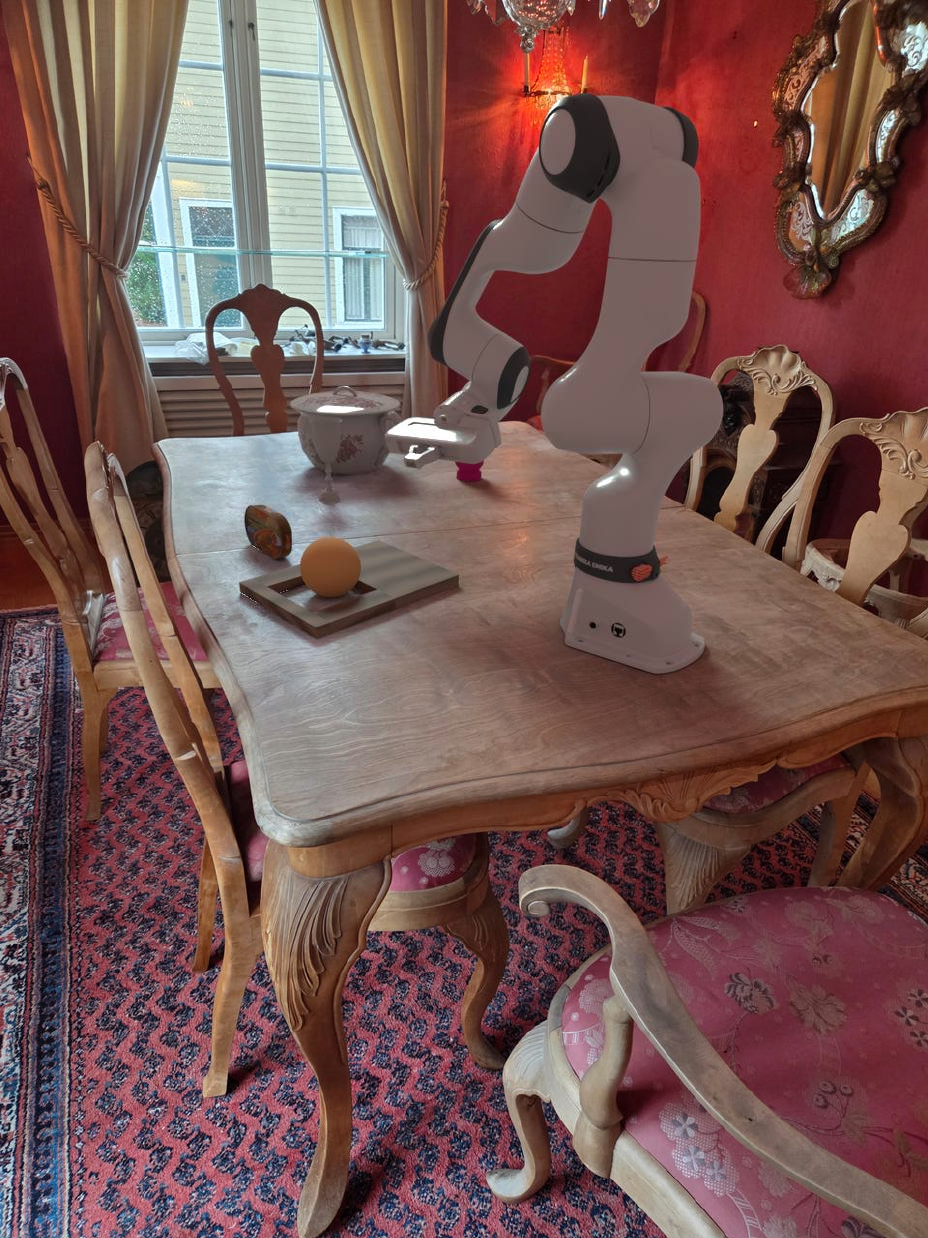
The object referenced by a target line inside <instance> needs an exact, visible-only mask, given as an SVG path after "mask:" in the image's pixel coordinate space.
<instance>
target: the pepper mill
mask: <svg viewBox="0 0 928 1238" xmlns="http://www.w3.org/2000/svg"><path fill="white" fill-rule="evenodd" d="M454 463H455V465H456V467H457V468H458V469H457V470H456V479H457V480H458V481H462V482H476V481H480V480H481V479H482V473H483V472H482V470H481V468H482V467H483V466H484V463H485V459H484V460H483V461H482V462H479V463H476V464H469V463H462V462H454Z"/></svg>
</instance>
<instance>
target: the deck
mask: <svg viewBox="0 0 928 1238" xmlns="http://www.w3.org/2000/svg"><path fill="white" fill-rule="evenodd" d="M353 548H354V549H355V550H356V552H357V553H358V555H359V558H360V562H361V573H360V577H359V579H358V581H357V583H356V585H355V586H354V587H353V588H352V589H355V590H357V591H358V592H360V593H363V594H362V595H361V594H360V595H359V596H356V597H352V598H350V599H347V600H345V601H342V602H338V603H336V604H333V605H330V606H328V607H325V608H322V609H319V610H316V611H314V612H312V611H310V610H308V609H307V608H305V607H303V606H301V605H300V604H299V603H296V602H294V601H293V600H291V599H289V598H288V597H285V596H284V595H282V593H280V592H283V591H286V590H289V591H293V590H295V588H296V589H298V588H297V587H299V588H302V587H304V586H303V585H305V586H307V585H306V584H305V583H304V581H303V579H302V576H301V572H300V563H297V564H294V565H292V566H289V567H285V568H281V569H278V570H275V571H272V572H269V573H266V574H262V575H260V576H259V575H258V576H255V577H252V578H248V579H246V580H243V581H239V582H238V584H239V585H238V586H239V593H240V592H241V593H243V594H245V595H246V596H248V597H249V598H251V599H252V600H254V601H256V602H257V603H258V604H257V603H256V602H255V603H256V604H257V605H259V604H260V605H259V606H261V607H262V606H263V608H264V609H266V610H267V611H269V612H271V613H272V614H274V615H276V616H277V617H279V618H280V619H282V620H284V621H285V620H286V622H288V623H289V624H291V625H292V626H294V627H296V628H297V629H299V630H301V631H302V632H304V633H305V634H307V635H309V636H310V637H312V638H314V639H315V640H320V639H321V638H325V637H326V636H329V635H330V636H331V635H332V634H334V633H338V632H339V631H342V630H343V631H344V629H348V628H351V627H353V626H356V625H359V624H361V623H363V622H366V621H368V620H371V619H373V618H374V619H375V618H376V617H379V616H381V615H384V614H387V613H390V612H392V611H395V610H398V609H400V608H403V607H405V606H407V605H410V604H413V603H415V602H417V601H421V600H424V599H426V598H428V597H429V598H430V597H431V596H434V595H437V594H440V593H441V592H444V591H447V590H449V589H452V588H455V587H457V586H459V584H460V574H459V573H456V572H454V571H451V570H450V569H447V568H444V567H442V566H440V565H439V564H435V563H432V562H431V561H428V560H425V559H423V558H422V557H418V556H417V555H415V554H412V553H410V552H407V551H406V550H405V551H404V550H403V549H400V548H398V547H395V546H393V545H391V544H388V543H387V542H384V541H381V540H380V539H378V540H375V541H371V542H367V543H365V544H362V545H361V544H360V545H359V546H355V547H354V546H353ZM301 586H302V587H301ZM286 592H287V591H286ZM241 593H240V594H241ZM279 593H280V594H279ZM283 593H284V592H283ZM246 596H245V597H246ZM249 598H248V599H249ZM251 599H250V600H251ZM252 600H251V601H252ZM254 601H253V602H254Z"/></svg>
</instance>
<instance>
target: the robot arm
mask: <svg viewBox="0 0 928 1238" xmlns="http://www.w3.org/2000/svg"><path fill="white" fill-rule="evenodd" d="M699 144H700V143H699V135H698V130H697V128H696V126H695V124H694V122H693V121H692V120H691V118H689V117H688V116H687V115H686V114H684V113H683V112H681V111H679V110H678V109H675V108H673V107H670V106H659V105H656V104H653V103H650V102H646V101H642V100H637V99H636V98H635V97H634V98H633V97H631V96H621V95H595V94H593V93H591V92H590V93H589V92H587V93H586V92H585V93H576V94H572V95H569V96H565V97H563V98H560V99H558V101H556V102H555V103H554V104H553V105H552V107H551V108H550V110H549V111H548V112H547V114H546V116H545V119H544V121H543V123H542V126H541V130H540V134H539V140H538V147H537V148H536V151H535V153H534V155H533V157H532V159H531V161H530V163H529V164H528V167H527V169H526V172H525V174H524V176H523V178H522V181H521V183H520V187H519V189H518V192H517V194H516V198H515V201H514V203H513V206H512V207H511V208H510V211H509V213H507V215H506V216H505V217H504V218H503V219H495V220H492V221H491V222H490V223H489V224H488V225H487V226H486V227H485V228H484V229H483V231H482V232H481V233H480V234H479V236H478V238H477V240H476V241H475V243H474V244H473V248H471V250H470V253H469V254H468V256H467V259H466V260H465V262H464V264H463V266H462V268H461V270H460V272H459V274H458V276H457V279H456V280H455V282H454V284H453V286H452V288H451V291H450V292H449V294H448V297H447V298H446V300H445V302H444V304H443V306H442V307H441V309H440V311H438V314H437V315H436V316H435V318H434V320H433V322H432V323H431V325H430V327H429V329H428V332H427V338H426V339H427V340H426V341H427V344H428V345H427V346H428V349H429V350H428V351H429V352H430V355H431V358H432V359H433V360H434V362H437V363H439V364H441V365H443V366H445V367H447V368H449V369H451V370H453V371H454V372H456V373H457V374H459V375H461V376H462V377H464V378H466V380H468V382H467V383H465V384H464V386H463V387H462V389H461V390H459V391H457V392H455V393H453V394H452V395H451V396H449V397H448V398H446V400H445V401H443V402H442V403H440V405H438V406H437V407H436V408H435V410H434V411H433V414H432V417H431V418H428V417H420V416H412V417H408V418H406V419H404V420H402V422H400V423H399V424H397V425H396V426H394V427H393V428H391V429H390V430H389V431H387V432H386V433H385V441H386V444H387V447H388V450H389V452H390V453H391V454H397V455H404V456H405V457H404V458H403V463H404V466H405V467H406V468H412V469H418V470H420V469H422V468H423V467H425V465H429V464H431V463H432V464H433V463H434V462H437V461H438V460H441V461H447V462H454V463H455V462H462V463H469V464H476V463H479V462H482V461H483V460H484V461H485V460H486V459H487V458H488V457H489V456H490V455H491V454H492V453H493V452H494V451H495V449H497V448H498V447H500V446H501V445H502V437H501V432H500V431H501V429H500V425H499V422H500V421H501V420H502V419H503V418H504V417H506V415H507V414H508V413H509V412H510V411H511V409H512V408H513V407H514V406H515V404H516V403H517V401H518V400H519V398H520V396H521V395H522V394H523V392H524V390H525V389H526V387H527V384H528V382H529V379H530V375H531V368H532V367H531V359H530V354H529V350H528V349H527V347H526V346H525V345H523V344H522V343H520V342H519V341H517V340H516V339H514V338H513V337H512V336H509V335H508V334H507V333H505V332H503V331H501V330H500V329H498V328H497V327H495V326H493V325H492V324H491V323H489V322H487V321H486V320H485V319H482V318H481V316H480V315H479V314H478V312H477V310H476V306H477V304H478V303H479V300H480V299H481V297H482V295H483V293H484V291H485V289H486V288H487V285H488V283H489V282H490V279H491V278H492V276H493V275H494V273H495V272H496V271H507V272H515V273H521V274H525V275H538V274H539V275H540V274H546V273H550V272H554V271H557V270H558V269H560V268H562V267H563V266H565V265H566V264H567V263H568V262H569V261H570V260H571V259H572V257H573V256H574V254H575V253H576V251H577V250H578V247H579V246H580V244H581V242H582V239H583V237H584V235H585V232H586V229H587V227H588V225H589V222H590V220H591V217H592V214H593V211H594V208H595V207H596V204H597V201H598V200H599V199H601V200H602V201H604V203H605V204H606V205H607V206H608V209H609V211H610V214H611V233H610V240H609V247H608V249H609V250H608V259H607V264H606V265H607V266H606V275H605V283H604V289H603V295H602V303H601V309H600V313H599V316H598V317H599V318H598V322H597V323H596V324H597V325H596V327H595V330H594V333H593V336H592V337H591V339H590V341H589V342H588V345H587V347H586V349H585V350H584V352H583V353H582V354H581V356H580V357H579V358H578V360H577V361H576V362H575V363H574V364H573V365H572V366H571V367H570V368H569V369H568V370H567V371H565V373H564V374H562V375H560V376H559V377H558V378H556V379H555V381H554V382H552V383H551V385H550V386H549V387H548V389H547V391H546V393H545V395H544V397H543V399H542V404H541V410H540V420H541V426H542V429H543V432H544V435H545V436H546V438H547V440H548V442H549V443H550V444H551V445H552V446H553V447H554V448H555V449H558V450H562V451H566V452H572V453H577V454H583V455H610V454H611V455H614V454H615V455H617V454H619V455H620V454H622V457H621V458H620V459H619V461H618V462H617V464H616V465H615V466H614V467H613V468H612V469H611V470H610V471H608V472H607V473H605V474H604V475H601V476H600V477H598V478H597V479H595V480H594V481H592V482H591V483H590V485H589V486H588V488H587V489H586V491H585V492H584V495H583V499H582V509H581V516H580V525H579V527H580V528H579V537H577V539H576V540H575V547H574V555H573V565H574V573H573V579H572V583H571V588H570V591H569V596H568V599H567V603H566V605H565V607H564V610H563V613H562V615H561V617H560V619H559V625H560V628H561V629H562V632H563V633H564V634H565V637H564V643H565V645H566V646H568V647H571V648H574V649H577V650H581V651H583V652H587V653H589V654H592V655H596V656H598V657H602V658H605V659H607V660H611V661H614V662H617V663H620V664H623V665H626V666H629V667H632V668H636V669H639V670H642V671H645V672H647V673H652V674H658V675H659V674H666V673H672V672H676V671H678V670H681V669H683V668H686V667H687V666H689V665H690V664H692V663H694V662H695V661H696V660H698V659H699V658H700V657H701V656H702V654H703V653H704V651H705V646H706V645H705V643H706V642H705V641H706V640H705V638H704V637H703V636H700V635H698V634H697V633H695V632H693V630H692V629H693V618H692V617H693V616H692V610H691V608H690V606H689V605H688V604H687V602H686V601H685V600H684V599H683V598H682V596H680V595H679V594H678V593H677V591H676V590H675V589H674V588H673V587H672V585H671V584H670V583H669V582H668V581H667V580H666V578H665V577H664V576H663V575H662V574H661V573H662V569H661V567H662V566H664V565H666V564H667V563H668V561H667V559H669V556H668V555H666V556H664V557H662V558H659V557H658V552H657V549H656V546H655V545H654V543H655V536H656V534H657V533H656V532H657V528H658V527H657V526H658V522H659V516H660V513H661V508H662V504H663V501H664V498H665V495H666V492H667V491H668V489H669V487H670V484H671V483H672V481H673V479H674V477H676V474H677V473H678V472H679V471H680V469H681V468H682V466H683V465H684V464H685V463H687V461H688V460H689V458H691V457H692V456H693V455H694V454H696V452H697V451H700V449H702V448H703V447H704V446H706V445H707V444H708V443H710V442H711V440H713V439H714V437H715V436H716V434H717V432H718V431H719V429H720V427H721V424H722V420H723V417H724V402H723V397H722V394H721V392H720V390H719V388H718V386H717V385H716V383H715V382H714V381H713V380H712V379H711V378H709V377H705V376H701V375H698V374H697V375H696V374H693V373H690V372H689V373H688V372H683V371H642V368H643V366H644V363H646V360H647V359H648V357H649V356H650V354H651V353H653V351H655V349H656V348H657V347H659V346H661V345H663V344H664V343H666V342H668V341H670V340H672V339H673V338H674V337H676V336H677V335H678V334H679V333H680V332H681V331H682V330H683V329H684V327H685V325H686V323H687V321H688V317H689V313H690V306H691V300H692V293H693V286H694V279H695V273H696V266H697V261H698V253H699V245H700V233H701V212H702V211H701V210H702V208H701V206H702V204H701V200H702V199H701V198H702V195H701V181H700V177H699V175H698V172H696V170H695V168H696V165H697V161H698V156H699V150H700V149H699V146H700V145H699ZM390 453H389V454H390Z"/></svg>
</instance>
